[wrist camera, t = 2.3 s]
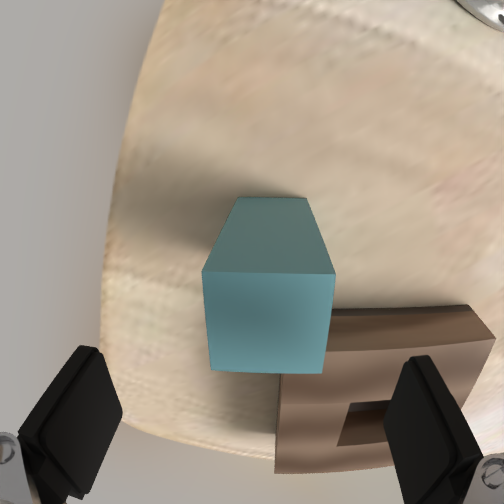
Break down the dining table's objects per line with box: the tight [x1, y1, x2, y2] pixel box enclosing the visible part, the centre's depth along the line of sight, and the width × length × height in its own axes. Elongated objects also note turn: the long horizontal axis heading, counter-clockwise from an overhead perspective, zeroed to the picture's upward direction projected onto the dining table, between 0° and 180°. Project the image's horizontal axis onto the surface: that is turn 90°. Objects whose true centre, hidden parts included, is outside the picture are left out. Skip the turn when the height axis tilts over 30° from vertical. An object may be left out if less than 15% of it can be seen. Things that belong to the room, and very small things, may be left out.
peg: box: [202, 197, 336, 374], centre depth 16 cm, size 4×4×11 cm
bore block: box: [274, 305, 496, 474], centre depth 24 cm, size 16×16×5 cm
